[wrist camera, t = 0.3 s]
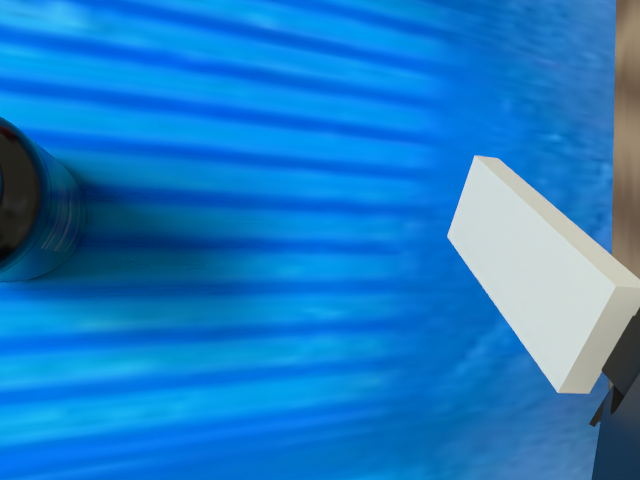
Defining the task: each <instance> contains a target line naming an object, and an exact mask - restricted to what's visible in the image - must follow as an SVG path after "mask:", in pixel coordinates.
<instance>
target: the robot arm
mask: <svg viewBox="0 0 640 480" xmlns="http://www.w3.org/2000/svg"><path fill="white" fill-rule="evenodd" d="M447 237H448V238H449V240H450V241H451V243H452V244H453V246H454V247H455V248H456V250H457V251H458V253H459V254H460V255H461V257H462V258H463V260H464V261H465V263H466V264H467V265H468V267H469V268H470V270H471V271H472V272H473V274H474V275H475V277H476V278H477V279H478V281H479V282H480V284H481V285H482V287H483V288H484V289H485V291H486V292H487V294H488V295H489V296H490V298H491V299H492V301H493V302H494V303H495V305H496V306H497V308H498V309H499V311H500V312H501V313H502V315H503V316H504V318H505V319H506V320H507V322H508V323H509V325H510V326H511V327H512V329H513V330H514V332H515V333H516V335H517V336H518V337H519V339H520V340H521V342H522V343H523V344H524V346H525V347H526V349H527V350H528V351H529V353H530V354H531V356H532V357H533V359H534V360H535V361H536V363H537V364H538V366H539V367H540V368H541V370H542V371H543V373H544V374H545V375H546V377H547V378H548V380H549V381H550V383H551V384H552V385H553V387H554V388H555V390H556V391H557V392H558V393H584V394H589V393H590V391H591V389H592V388H593V386H594V384H595V383H596V381H597V379H598V377H599V376H600V374H601V372H602V371H603V373H604V374H605V375H606V376H607V377H608V379H609V380H610V381H611V382H612V383H613V386H612V387H611V389H610V391H609V392H608V394H607V396H606V397H605V399H604V400H603V402H602V404H601V405H600V407H599V409H598V410H597V412H596V414H595V415H594V417H593V419H592V420H591V422H590V423H589V424H590V425H592V426H594V427H595V426H596V424H597V423H598V422H600V421H601V424H600V430H599V437H598V443H597V449H596V455H595V462H594V468H593V474H592V480H640V279H638V278H637V277H636V276H635V275H634V274H633V273H631V272H630V271H629V270H628V269H627V268H626V267H624V266H623V265H622V264H621V263H620V262H619V261H617V260H616V259H615V258H614V257H613V256H612V255H610V254H609V253H608V252H607V251H606V250H605V249H603V248H602V247H601V246H600V245H599V244H598V243H596V242H595V241H594V240H593V239H592V238H591V237H589V236H588V235H587V234H586V233H585V232H584V231H582V230H581V229H580V228H579V227H578V226H577V225H575V224H574V223H573V222H572V221H571V220H570V219H568V218H567V217H566V216H565V215H564V214H563V213H561V212H560V211H559V210H558V209H557V208H556V207H554V206H553V205H552V204H551V203H550V202H549V201H547V200H546V199H545V198H544V197H543V196H542V195H540V194H539V193H538V192H537V191H536V190H535V189H533V188H532V187H531V186H530V185H529V184H528V183H526V182H525V181H524V180H523V179H522V178H521V177H519V176H518V175H517V174H516V173H515V172H514V171H512V170H511V169H510V168H509V167H508V166H507V165H505V164H504V163H503V162H502V161H501V160H499V159H498V158H491V157H483V156H474V159H473V162H472V165H471V168H470V171H469V174H468V177H467V180H466V183H465V186H464V189H463V192H462V195H461V197H460V200H459V203H458V206H457V209H456V212H455V215H454V218H453V221H452V224H451V227H450V230H449V233H448V236H447Z"/></svg>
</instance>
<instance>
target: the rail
mask: <svg viewBox="0 0 640 480" xmlns="http://www.w3.org/2000/svg"><path fill="white" fill-rule="evenodd" d="M612 256H613V257H614V258H615V259H616V260H617V261H619V262H620V263H621V264H622V265H623V266H624V267H626V268H627V269H628V270H629V271H630V272H631V273H633V274H634V275H635V276H636V277H637V278H638V279H640V0H616V52H615V105H614V159H613V213H612ZM612 386H613V383H612V382H611V381H610V380H609V391H610V389H611V387H612Z"/></svg>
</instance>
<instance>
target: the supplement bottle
mask: <svg viewBox="0 0 640 480" xmlns="http://www.w3.org/2000/svg"><path fill="white" fill-rule="evenodd" d="M85 225H86V204H85V200H84V196H83V193H82V191H81V189H80V187H79V185H78V183H77V181H76V180H75V178H74V177H73V176H72V174H71V173H70V172H69V171H68V170H67V169H66V168H65V167H64V166H63V165H62V164H61V163H60V162H58V161H57V160H56V159H55V158H54V157H52V156H51V155H50V154H49V153H48V152H46V151H45V150H44V149H43V148H42V147H40V146H39V145H38V144H37V143H36V142H34V141H33V140H32V139H31V138H29V137H28V136H27V135H26V134H25V133H23V132H22V131H21V130H20V129H18V128H17V127H16V126H14V125H13V124H12V123H10V122H9V121H7V120H5V119H4V118H2V117H0V283H1V282H15V281H22V280H28V279H32V278H36V277H39V276H41V275H44V274H46V273H48V272H50V271H52V270H54V269H55V268H57V267H58V266H60V265H61V264H62V263H63V262H65V261H66V260H67V259H68V258H69V257H70V256H71V254H72V253H73V252H74V251H75V249H76V248H77V246H78V244H79V242H80V240H81V238H82V236H83V233H84V229H85Z"/></svg>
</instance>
